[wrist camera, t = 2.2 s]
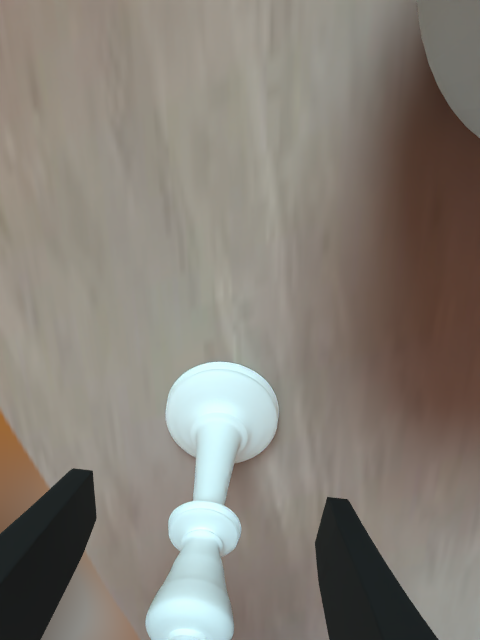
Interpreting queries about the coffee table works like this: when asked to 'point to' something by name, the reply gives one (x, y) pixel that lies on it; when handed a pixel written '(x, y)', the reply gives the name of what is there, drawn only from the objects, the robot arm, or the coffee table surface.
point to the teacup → (454, 53)
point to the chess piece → (209, 494)
